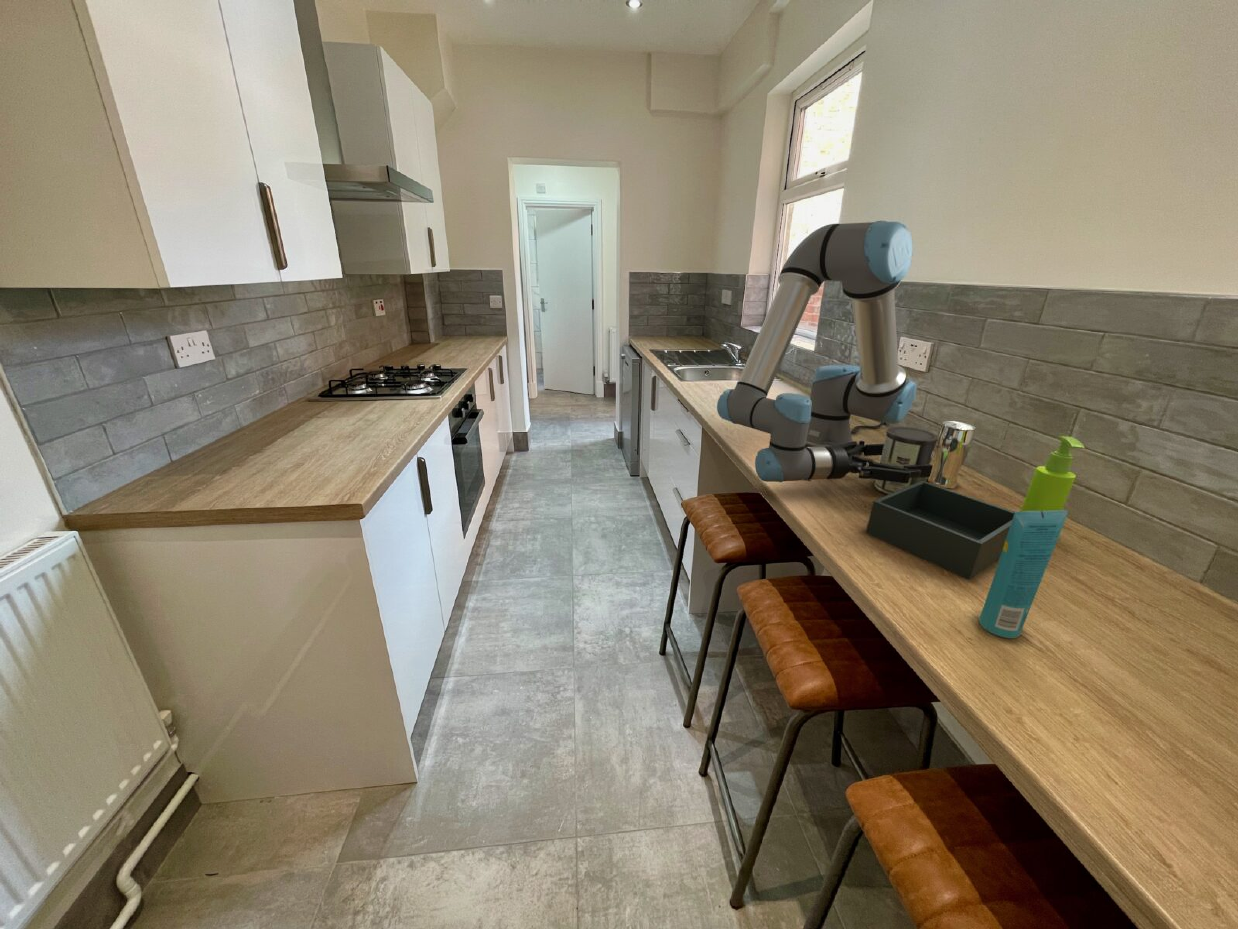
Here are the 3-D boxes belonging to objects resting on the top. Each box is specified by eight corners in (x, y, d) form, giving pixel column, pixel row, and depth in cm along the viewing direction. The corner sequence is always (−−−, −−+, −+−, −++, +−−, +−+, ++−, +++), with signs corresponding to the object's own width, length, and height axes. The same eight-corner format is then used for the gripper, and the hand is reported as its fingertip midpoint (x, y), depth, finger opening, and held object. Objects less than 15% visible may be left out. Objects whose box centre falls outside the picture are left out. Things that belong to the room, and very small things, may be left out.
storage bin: (913, 509, 107) (921, 480, 104) (1013, 548, 92) (1026, 515, 90) (865, 532, 97) (873, 501, 94) (969, 579, 83) (981, 544, 80)
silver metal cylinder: (953, 491, 116) (971, 431, 110) (921, 482, 120) (937, 424, 115) (962, 484, 120) (980, 425, 114) (931, 475, 125) (947, 419, 119)
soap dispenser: (1022, 537, 96) (1059, 442, 89) (1010, 522, 102) (1043, 431, 95) (1059, 543, 94) (1099, 446, 87) (1044, 527, 100) (1080, 435, 93)
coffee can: (913, 482, 120) (928, 428, 115) (929, 500, 111) (946, 442, 106) (868, 478, 122) (881, 424, 117) (880, 496, 113) (894, 438, 107)
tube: (1004, 614, 74) (1048, 501, 67) (1035, 636, 70) (1085, 518, 63) (962, 619, 73) (1002, 504, 66) (990, 642, 69) (1036, 522, 61)
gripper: (795, 458, 123) (871, 455, 127) (853, 502, 101) (945, 497, 104) (800, 430, 121) (878, 427, 124) (860, 468, 98) (954, 464, 101)
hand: (908, 459), depth 114 cm, fingers open, 13 cm apart
